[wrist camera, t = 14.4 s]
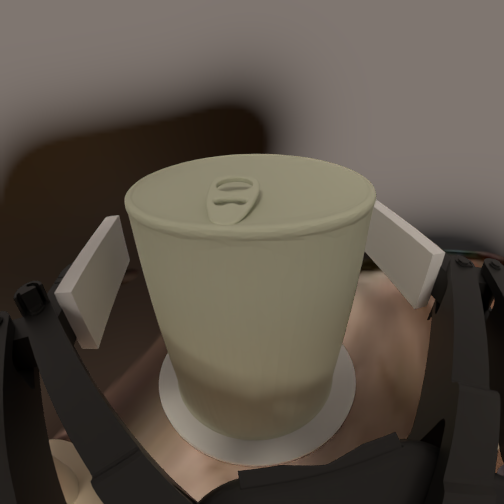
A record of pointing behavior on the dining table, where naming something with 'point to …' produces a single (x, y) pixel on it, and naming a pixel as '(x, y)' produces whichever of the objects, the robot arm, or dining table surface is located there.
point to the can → (252, 282)
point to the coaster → (261, 450)
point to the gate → (74, 474)
